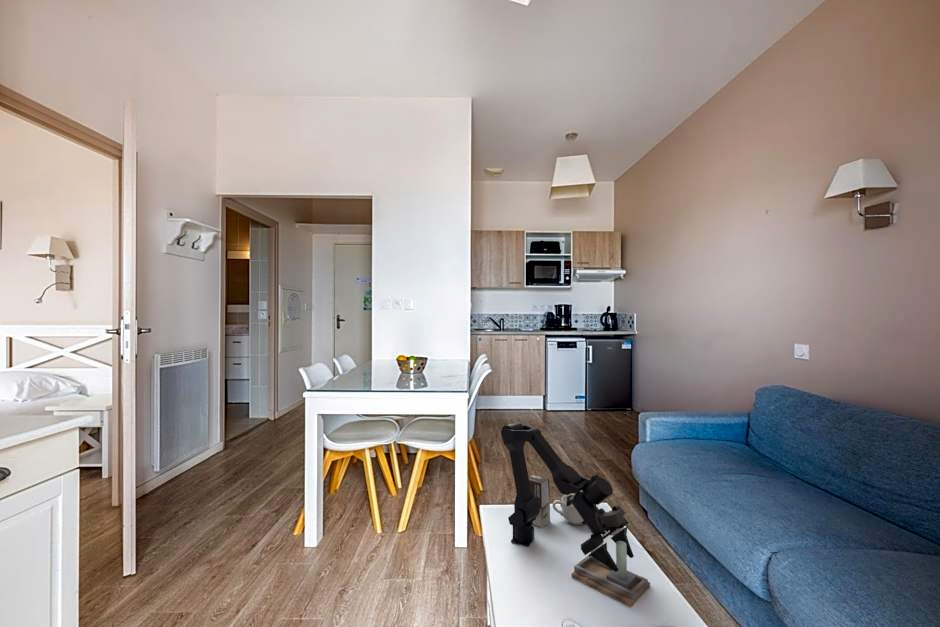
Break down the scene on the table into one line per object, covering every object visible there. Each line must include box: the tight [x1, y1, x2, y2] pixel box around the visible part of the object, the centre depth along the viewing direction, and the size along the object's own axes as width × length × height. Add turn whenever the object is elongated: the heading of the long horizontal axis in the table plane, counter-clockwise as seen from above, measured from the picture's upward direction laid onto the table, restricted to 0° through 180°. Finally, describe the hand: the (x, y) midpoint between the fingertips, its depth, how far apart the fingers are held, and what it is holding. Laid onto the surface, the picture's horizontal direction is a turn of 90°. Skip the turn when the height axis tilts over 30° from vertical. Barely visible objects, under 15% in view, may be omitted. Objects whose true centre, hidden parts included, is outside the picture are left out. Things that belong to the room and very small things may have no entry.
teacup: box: [552, 493, 583, 526], centre depth 160 cm, size 14×11×8 cm
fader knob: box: [606, 541, 638, 590], centre depth 121 cm, size 6×6×11 cm
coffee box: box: [528, 472, 551, 528], centre depth 160 cm, size 9×6×16 cm
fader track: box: [571, 555, 651, 608], centre depth 123 cm, size 18×12×3 cm, turn 44°
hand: (625, 564), depth 120 cm, fingers open, 9 cm apart
